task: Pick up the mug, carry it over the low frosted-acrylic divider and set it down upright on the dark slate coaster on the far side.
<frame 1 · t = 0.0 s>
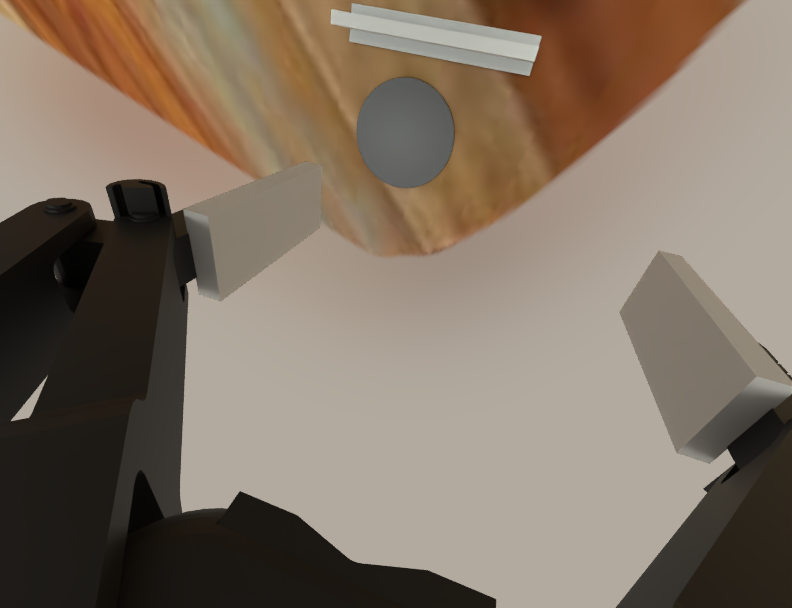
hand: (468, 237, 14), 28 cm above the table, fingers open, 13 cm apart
coaster: (404, 136, 40), on the table
divider: (440, 39, 34), on the table
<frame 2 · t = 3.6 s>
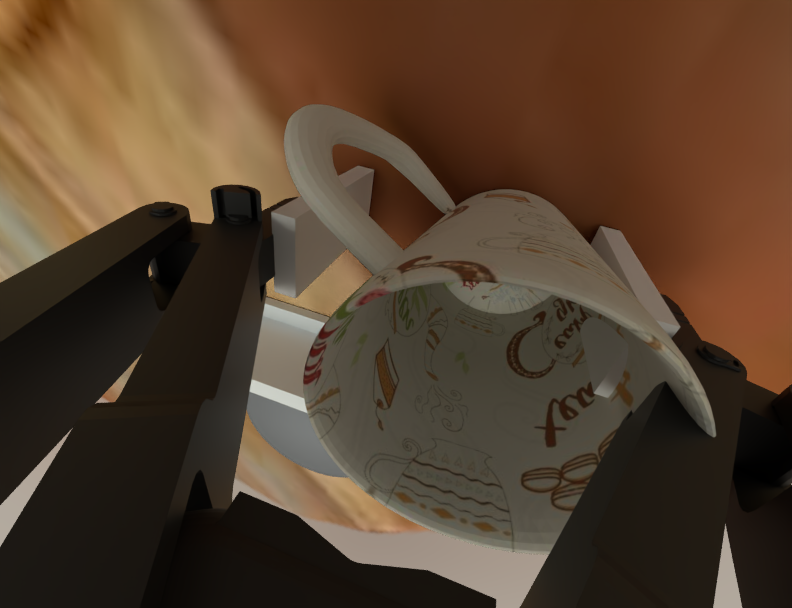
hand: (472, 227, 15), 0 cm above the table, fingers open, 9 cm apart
coaster: (314, 425, 27), on the table
divider: (348, 343, 21), on the table
mug: (468, 220, 16), on the table, touching gripper
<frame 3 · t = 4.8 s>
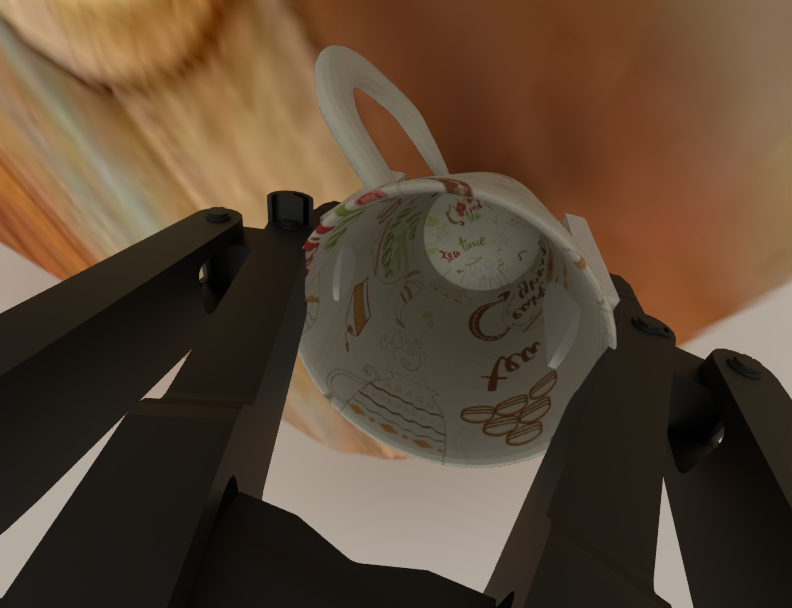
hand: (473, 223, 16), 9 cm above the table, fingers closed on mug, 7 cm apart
mug: (458, 197, 17), point 7 cm above the table, touching gripper
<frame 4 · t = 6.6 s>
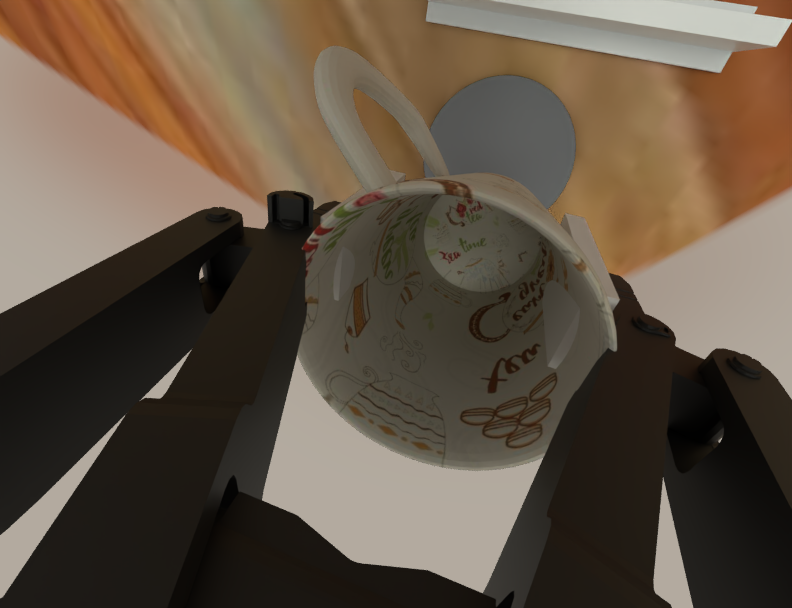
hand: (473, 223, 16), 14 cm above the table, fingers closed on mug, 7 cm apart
coaster: (495, 160, 27), on the table
divider: (573, 16, 22), on the table
mug: (459, 198, 17), point 13 cm above the table, touching gripper
when the fingers open (2 cm above the table, at t = 8.6 s): mug stays where it is, resting on coaster.
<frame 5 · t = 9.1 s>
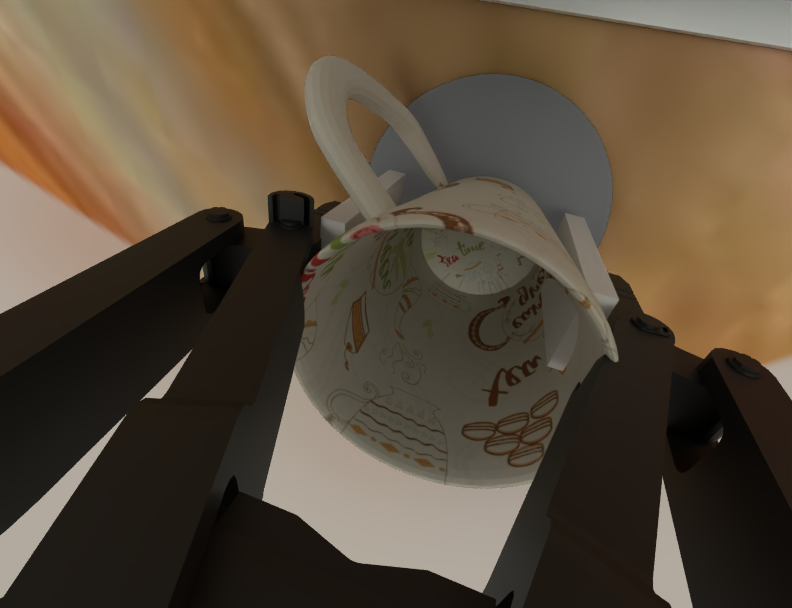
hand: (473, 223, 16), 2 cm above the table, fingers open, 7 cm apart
coaster: (476, 212, 17), on the table
mug: (456, 201, 17), resting on coaster, touching gripper
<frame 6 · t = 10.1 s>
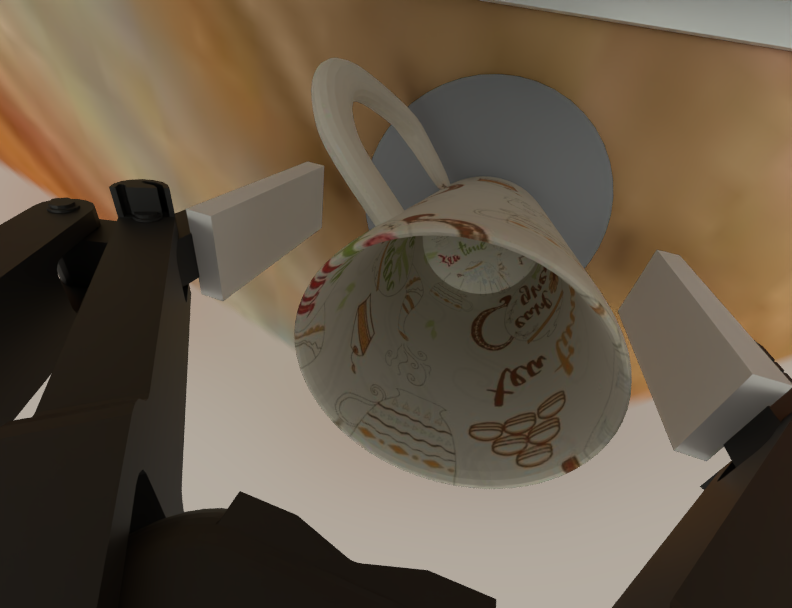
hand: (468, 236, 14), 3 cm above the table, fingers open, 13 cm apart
coaster: (477, 212, 17), on the table
mug: (458, 201, 17), resting on coaster
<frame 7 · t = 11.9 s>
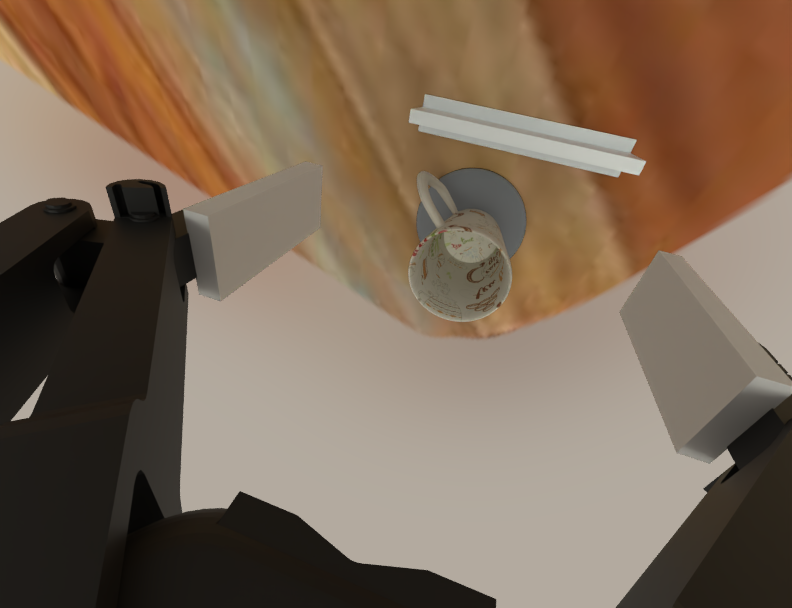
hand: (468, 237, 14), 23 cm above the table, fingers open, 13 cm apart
coaster: (469, 224, 37), on the table
divider: (520, 134, 32), on the table
mug: (460, 219, 37), resting on coaster
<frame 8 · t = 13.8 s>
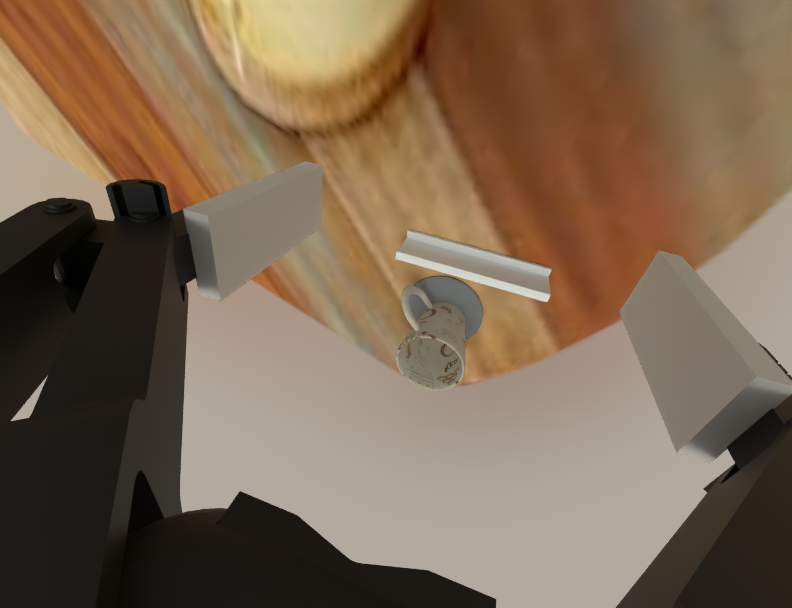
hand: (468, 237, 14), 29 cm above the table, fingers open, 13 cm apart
coaster: (443, 310, 51), on the table
divider: (474, 258, 45), on the table
mug: (436, 307, 51), resting on coaster
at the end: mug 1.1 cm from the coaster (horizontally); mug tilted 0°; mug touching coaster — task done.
